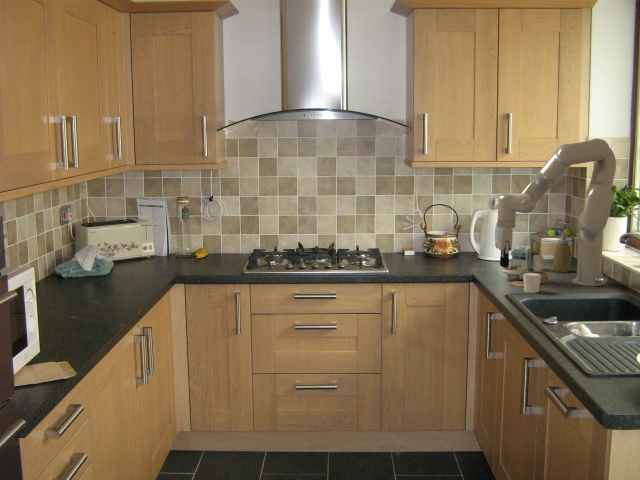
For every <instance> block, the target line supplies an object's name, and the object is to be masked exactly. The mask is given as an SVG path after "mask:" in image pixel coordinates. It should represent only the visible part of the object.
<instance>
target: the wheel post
mask: <svg viewBox="0 0 640 480" xmlns="http://www.w3.org/2000/svg"><path fill="white" fill-rule="evenodd" d="M520 277H521V276H520V275H510V274H507V277H506V278H507V280H506V281H507V282H508V281H509V282H516V281H520Z"/></svg>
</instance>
